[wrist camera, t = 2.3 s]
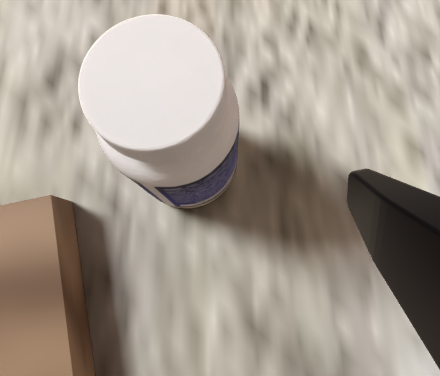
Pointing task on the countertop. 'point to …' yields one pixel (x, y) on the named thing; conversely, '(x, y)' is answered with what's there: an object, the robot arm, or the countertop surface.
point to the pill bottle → (163, 108)
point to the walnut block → (42, 291)
